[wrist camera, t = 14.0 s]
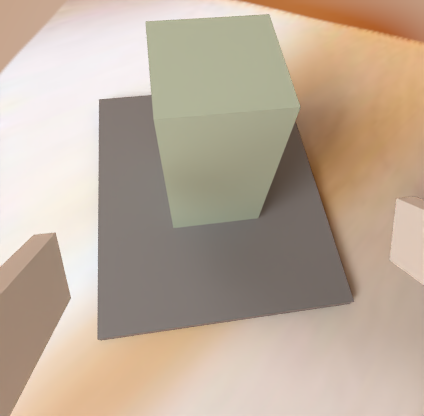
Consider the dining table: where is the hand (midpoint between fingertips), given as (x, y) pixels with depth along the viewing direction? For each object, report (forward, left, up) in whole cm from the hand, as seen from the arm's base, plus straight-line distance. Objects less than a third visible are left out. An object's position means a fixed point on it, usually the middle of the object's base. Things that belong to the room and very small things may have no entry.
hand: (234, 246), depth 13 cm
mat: (0, -8, -10) cm, 13 cm away
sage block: (0, -8, -9) cm, 12 cm away
